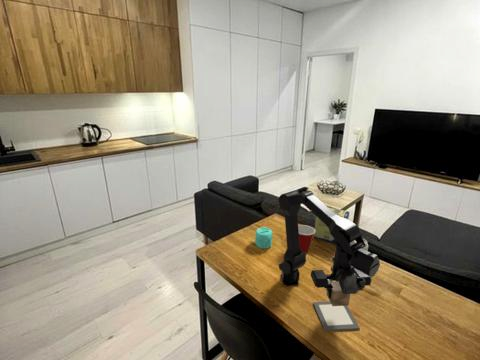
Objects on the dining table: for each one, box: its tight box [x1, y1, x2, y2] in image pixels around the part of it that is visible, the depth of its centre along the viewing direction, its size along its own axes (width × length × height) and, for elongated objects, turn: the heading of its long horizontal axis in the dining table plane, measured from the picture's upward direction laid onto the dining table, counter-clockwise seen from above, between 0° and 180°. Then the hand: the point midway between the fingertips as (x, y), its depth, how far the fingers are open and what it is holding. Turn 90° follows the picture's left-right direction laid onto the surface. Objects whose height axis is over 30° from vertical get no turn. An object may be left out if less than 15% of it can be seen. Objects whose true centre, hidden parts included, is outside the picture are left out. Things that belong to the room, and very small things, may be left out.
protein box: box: [313, 207, 350, 244], centre depth 139 cm, size 10×16×16 cm
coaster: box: [312, 300, 361, 332], centre depth 93 cm, size 12×12×1 cm
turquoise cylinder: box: [254, 226, 273, 249], centre depth 135 cm, size 8×8×8 cm
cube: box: [326, 281, 351, 306], centre depth 90 cm, size 6×6×6 cm
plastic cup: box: [298, 224, 316, 254], centre depth 130 cm, size 11×11×12 cm
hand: (337, 297), depth 90 cm, fingers closed on cube, 5 cm apart
